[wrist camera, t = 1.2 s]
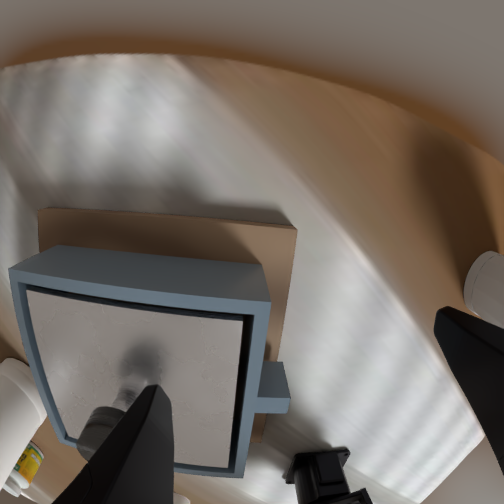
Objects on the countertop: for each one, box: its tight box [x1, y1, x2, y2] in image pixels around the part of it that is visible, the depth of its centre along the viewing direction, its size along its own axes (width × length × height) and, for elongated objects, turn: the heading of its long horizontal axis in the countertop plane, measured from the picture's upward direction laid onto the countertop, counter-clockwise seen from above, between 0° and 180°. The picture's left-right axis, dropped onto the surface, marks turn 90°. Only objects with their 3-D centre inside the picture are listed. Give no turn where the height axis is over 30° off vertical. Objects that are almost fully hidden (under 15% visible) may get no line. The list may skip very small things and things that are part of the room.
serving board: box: [38, 208, 297, 443], centre depth 22 cm, size 20×19×2 cm
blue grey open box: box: [8, 245, 291, 478], centre depth 18 cm, size 15×17×6 cm
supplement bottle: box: [2, 441, 43, 497], centre depth 22 cm, size 5×5×10 cm
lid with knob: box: [26, 286, 243, 468], centre depth 13 cm, size 13×13×6 cm
